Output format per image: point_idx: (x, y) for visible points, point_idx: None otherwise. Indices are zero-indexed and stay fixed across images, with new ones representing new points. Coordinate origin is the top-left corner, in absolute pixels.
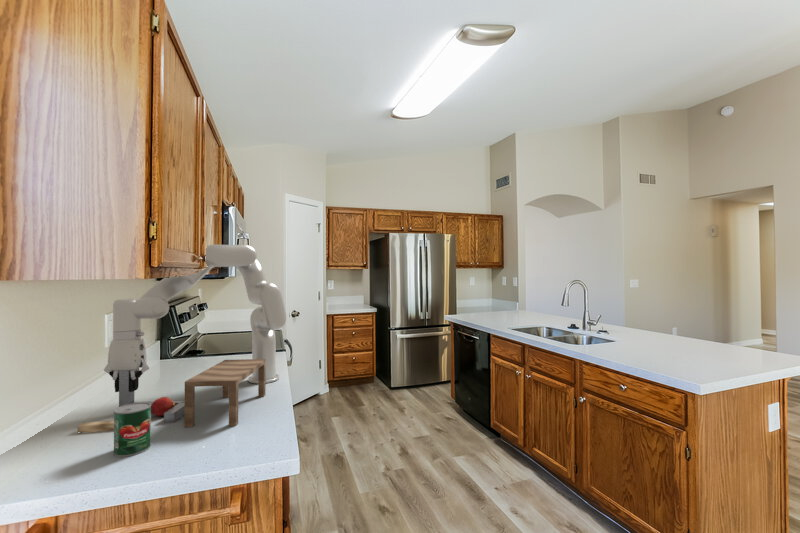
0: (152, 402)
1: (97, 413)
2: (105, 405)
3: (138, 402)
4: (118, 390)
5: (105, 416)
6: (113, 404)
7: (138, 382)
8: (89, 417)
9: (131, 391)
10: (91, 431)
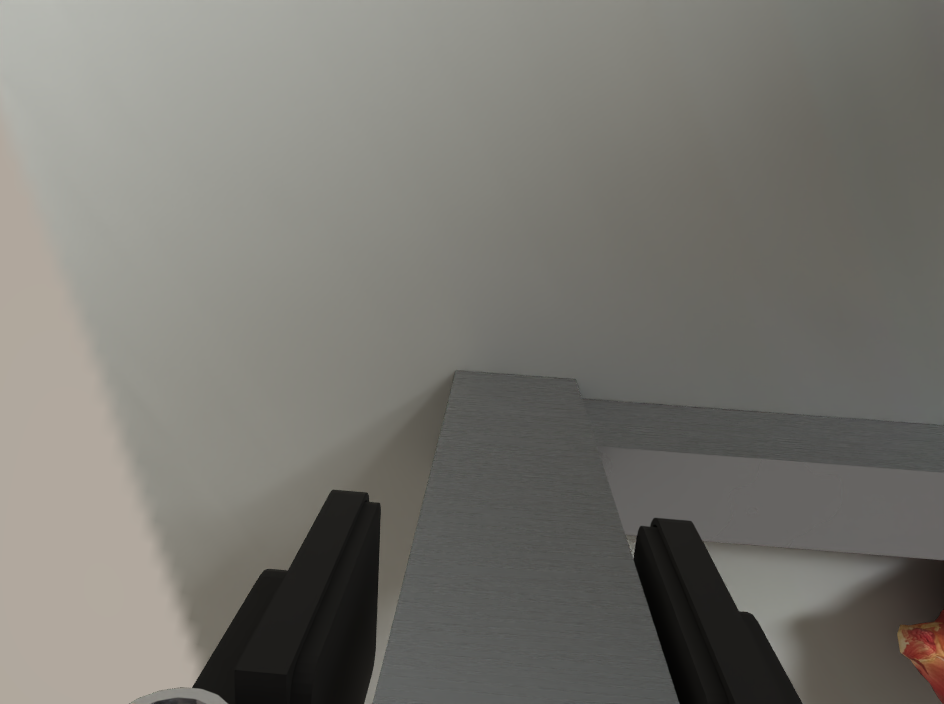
0: (904, 512)
1: (163, 411)
2: (20, 87)
3: (679, 478)
4: (373, 655)
5: None
6: (106, 53)
7: (792, 686)
8: (172, 530)
9: None
10: None
